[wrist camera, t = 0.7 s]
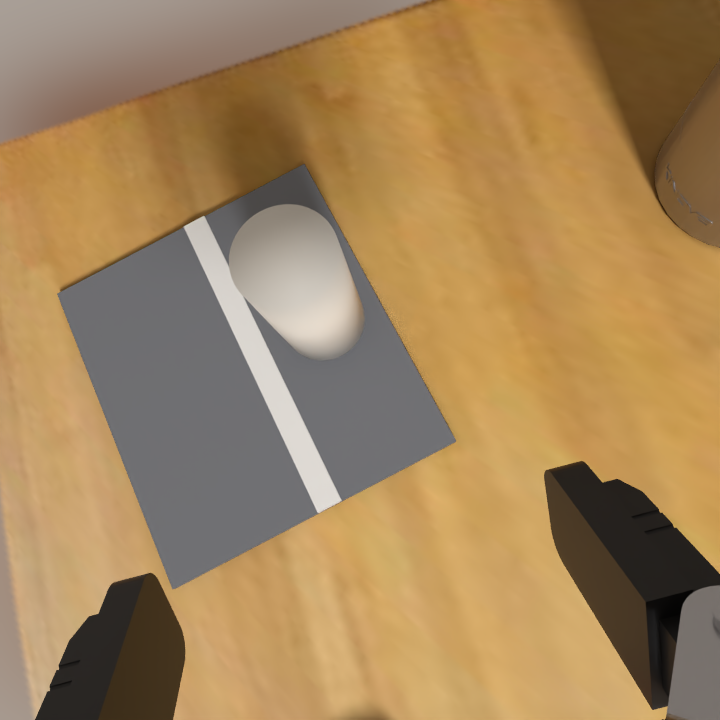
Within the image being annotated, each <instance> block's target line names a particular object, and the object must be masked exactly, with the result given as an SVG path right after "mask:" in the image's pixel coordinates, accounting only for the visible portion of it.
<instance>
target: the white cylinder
mask: <svg viewBox="0 0 720 720" xmlns="http://www.w3.org/2000/svg"><path fill="white" fill-rule="evenodd" d="M229 270H230V274H231V278H232V280H233V283H234V284H235V286H236V288H237V289H238V291H239V292H240V293H241V294H242V295H243V296H244V298H245V299H246V300H247V301H248V302H249V303H250V304H251V305H252V306H253V307H254V308H255V309H256V310H257V311H258V312H259V313H260V314H261V315H262V316H263V317H264V318H265V319H266V320H267V321H268V323H269V324H270V325H271V326H272V327H273V328H274V329H275V330H276V331H277V332H278V333H279V334H280V335H281V336H282V337H283V338H284V339H285V340H286V341H287V342H288V343H289V344H290V345H291V346H292V348H293V349H295V350H296V351H297V352H298V353H299V354H301V355H303V356H305V357H307V358H310V359H313V360H331V359H335V358H338V357H340V356H342V355H344V354H345V353H347V352H348V351H349V350H351V349H352V348H353V347H354V346H355V344H356V343H357V342H358V340H359V338H360V337H361V334H362V332H363V329H364V323H365V314H364V309H363V306H362V303H361V300H360V297H359V295H358V292H357V289H356V287H355V284H354V281H353V279H352V276H351V273H350V271H349V268H348V265H347V262H346V260H345V257H344V254H343V252H342V249H341V246H340V244H339V241H338V238H337V236H336V233H335V231H334V229H333V228H332V226H331V225H330V223H329V222H328V221H327V220H326V219H325V218H324V217H323V216H322V215H320V214H319V213H317V212H316V211H314V210H312V209H310V208H307V207H304V206H300V205H294V204H283V205H277V206H272V207H269V208H266V209H264V210H262V211H260V212H258V213H257V214H255V215H254V216H252V217H251V218H250V219H248V220H247V221H246V222H245V223H244V224H243V226H242V227H241V228H240V229H239V231H238V232H237V234H236V236H235V238H234V240H233V242H232V245H231V248H230V254H229Z"/></svg>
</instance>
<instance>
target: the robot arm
mask: <svg viewBox="0 0 720 720" xmlns="http://www.w3.org/2000/svg"><path fill="white" fill-rule="evenodd" d="M655 187H656V190H657V193H658V197H659V200H660V202H661V204H662V206H663V207H664V209H665V211H666V213H667V214H668V215H669V216H670V218H671V219H672V220H673V221H674V222H675V223H676V224H677V225H678V227H680V228H681V229H683V230H684V231H685V232H687V233H688V234H689V235H691V236H692V237H694V238H696V239H698V240H700V241H702V242H704V243H706V244H708V245H712V246H715V247H719V248H720V60H719V61H718V63H717V64H716V66H715V67H714V69H713V70H712V72H711V73H710V75H709V76H708V78H707V79H706V81H705V82H704V84H703V85H702V87H701V88H700V90H699V91H698V93H697V94H696V96H695V97H694V99H693V100H692V101H691V103H690V104H689V106H688V107H687V109H686V110H685V112H684V113H683V115H682V116H681V118H680V119H679V121H678V122H677V124H676V125H675V127H674V128H673V130H672V131H671V133H670V134H669V136H668V138H667V139H666V141H665V142H664V144H663V146H662V148H661V150H660V152H659V154H658V156H657V161H656V166H655ZM544 479H545V487H546V494H547V502H548V509H549V516H550V523H551V530H552V535H553V539H554V543H555V546H556V549H557V551H558V554H559V556H560V558H561V560H562V562H563V564H564V566H565V567H566V569H567V570H568V572H569V574H570V575H571V577H572V579H573V580H574V582H575V584H576V585H577V587H578V589H579V590H580V592H581V593H582V595H583V597H584V598H585V600H586V602H587V603H588V605H589V607H590V608H591V610H592V611H593V613H594V615H595V616H596V618H597V620H598V621H599V623H600V625H601V626H602V628H603V630H604V631H605V633H606V634H607V636H608V638H609V639H610V641H611V643H612V644H613V646H614V648H615V649H616V651H617V652H618V654H619V656H620V657H621V659H622V661H623V662H624V664H625V666H626V667H627V669H628V671H629V672H630V674H631V675H632V677H633V679H634V680H635V682H636V684H637V685H638V687H639V689H640V690H641V692H642V693H643V695H644V697H645V698H646V700H647V702H648V703H649V705H650V707H651V708H652V710H654V709H658V708H662V707H666V706H668V709H667V715H666V719H665V720H720V574H719V573H718V572H717V571H716V569H715V568H714V567H713V566H712V565H711V564H710V563H709V562H708V561H707V560H706V559H705V558H704V557H703V556H702V555H701V554H700V553H699V551H698V550H697V549H696V548H695V547H694V546H693V545H692V544H691V543H690V542H689V541H688V540H687V539H686V538H685V537H684V536H683V534H682V533H681V532H680V531H679V530H678V529H677V528H674V527H673V524H672V523H671V522H670V521H669V520H668V519H667V517H666V516H665V515H664V514H663V513H660V512H659V509H658V508H657V507H656V506H655V505H654V504H653V503H652V502H651V500H650V499H649V498H648V497H647V496H646V495H645V494H644V493H643V492H642V491H640V490H638V489H636V488H634V487H632V486H630V485H628V484H626V483H624V482H622V481H621V480H619V479H615V480H611V481H607V482H604V483H602V482H601V481H600V479H599V478H598V477H597V476H596V475H595V473H594V472H593V471H592V470H591V469H590V468H589V466H588V465H587V464H586V463H585V462H583V461H580V462H576V463H572V464H568V465H564V466H560V467H557V468H553V469H549V470H546V471H545V474H544ZM184 662H185V642H184V636H183V632H182V629H181V627H180V625H179V622H178V620H177V618H176V616H175V614H174V612H173V610H172V608H171V606H170V604H169V601H168V599H167V597H166V595H165V593H164V591H163V589H162V587H161V585H160V583H159V581H158V579H157V577H156V576H155V575H154V574H152V573H148V574H144V575H141V576H137V577H133V578H129V579H125V580H121V581H118V582H114V583H112V584H111V586H110V587H109V589H108V591H107V594H106V596H105V599H104V602H103V604H102V607H101V609H100V612H99V614H96V615H92V616H89V617H88V618H87V620H86V621H85V622H84V623H83V624H82V626H81V627H80V628H79V629H78V631H77V632H76V633H75V634H74V636H73V637H72V638H71V639H70V640H69V643H68V645H67V647H66V650H65V652H64V654H63V657H62V659H61V661H60V663H59V670H57V671H56V673H55V675H54V677H53V680H52V682H51V684H50V691H48V692H47V694H46V696H45V698H44V701H43V703H42V705H41V707H40V710H39V712H38V714H37V717H36V719H35V720H173V717H174V712H175V707H176V702H177V697H178V692H179V687H180V682H181V677H182V672H183V667H184ZM662 720H663V719H662Z"/></svg>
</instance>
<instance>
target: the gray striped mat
mask: <svg viewBox="0 0 720 720" xmlns="http://www.w3.org/2000/svg"><path fill="white" fill-rule="evenodd" d="M283 204H294V205H300V206H304V207H307V208H310V209H312V210H314V211H316V212H317V213H319V214H320V215H322V216H323V217H324V218H325V219H326V220H327V221H328V222H329V223H330V225H331V226H332V228H333V229H334V231H335V233H336V236H337V238H338V241H339V244H340V246H341V249H342V252H343V254H344V257H345V260H346V262H347V265H348V268H349V271H350V273H351V276H352V279H353V281H354V284H355V287H356V289H357V292H358V295H359V297H360V300H361V303H362V306H363V309H364V314H365V323H364V329H363V332H362V334H361V337H360V338H359V340H358V342H357V343H356V344H355V346H354V347H353V348H352V349H351V350H349V351H348V352H347V353H345V354H344V355H342V356H340V357H338V358H335V359H331V360H313V359H310V358H307V357H305V356H303V355H301V354H299V353H298V352H297V351H296V350H295V349H293V348H292V346H291V345H290V344H289V343H288V342H287V341H286V340H285V339H284V338H283V337H282V336H281V335H280V334H279V333H278V332H277V331H276V330H275V329H274V328H273V327H272V326H271V325H270V324H269V323H268V321H267V320H266V319H265V318H264V317H263V316H262V315H261V314H260V313H259V312H258V311H257V310H256V309H255V308H254V307H253V306H252V305H251V304H250V303H249V302H248V301H247V300H246V299H245V298H244V296H243V295H242V294H241V293H240V292H239V291H238V289H237V288H236V286H235V284H234V283H233V280H232V278H231V274H230V270H229V254H230V248H231V245H232V242H233V240H234V238H235V236H236V234H237V232H238V231H239V229H240V228H241V227H242V226H243V224H244V223H245V222H246V221H247V220H248V219H250V218H251V217H252V216H254V215H255V214H257V213H258V212H260V211H262V210H264V209H266V208H269V207H272V206H277V205H283ZM57 295H58V297H59V300H60V302H61V305H62V307H63V310H64V313H65V315H66V318H67V320H68V323H69V325H70V328H71V330H72V333H73V336H74V338H75V341H76V343H77V346H78V348H79V351H80V354H81V356H82V359H83V361H84V364H85V366H86V369H87V371H88V374H89V377H90V379H91V382H92V384H93V387H94V389H95V392H96V394H97V397H98V400H99V402H100V405H101V407H102V410H103V412H104V415H105V417H106V420H107V423H108V425H109V428H110V430H111V433H112V435H113V438H114V440H115V443H116V446H117V448H118V451H119V453H120V456H121V458H122V461H123V464H124V466H125V469H126V471H127V474H128V476H129V479H130V481H131V484H132V487H133V489H134V492H135V494H136V497H137V499H138V502H139V504H140V507H141V510H142V512H143V515H144V517H145V520H146V522H147V525H148V527H149V530H150V533H151V535H152V538H153V540H154V543H155V545H156V548H157V550H158V553H159V556H160V558H161V561H162V563H163V566H164V568H165V571H166V574H167V576H168V579H169V581H170V584H171V586H172V589H175V588H177V587H179V586H181V585H183V584H185V583H187V582H189V581H191V580H193V579H195V578H197V577H198V576H200V575H202V574H204V573H206V572H208V571H210V570H212V569H214V568H216V567H218V566H219V565H221V564H223V563H225V562H227V561H229V560H231V559H233V558H235V557H237V556H239V555H240V554H242V553H244V552H246V551H248V550H250V549H252V548H254V547H256V546H258V545H260V544H261V543H263V542H265V541H267V540H269V539H271V538H273V537H275V536H277V535H279V534H281V533H282V532H284V531H286V530H288V529H290V528H292V527H294V526H296V525H298V524H300V523H302V522H303V521H305V520H307V519H309V518H311V517H313V516H315V515H317V514H319V513H321V512H323V511H324V510H326V509H328V508H330V507H332V506H334V505H336V504H338V503H340V502H342V501H344V500H346V499H347V498H349V497H351V496H353V495H355V494H357V493H359V492H361V491H363V490H365V489H367V488H368V487H370V486H372V485H374V484H376V483H378V482H380V481H382V480H384V479H386V478H388V477H389V476H391V475H393V474H395V473H397V472H399V471H401V470H403V469H405V468H407V467H409V466H410V465H412V464H414V463H416V462H418V461H420V460H422V459H424V458H426V457H428V456H430V455H431V454H433V453H435V452H437V451H439V450H441V449H443V448H445V447H447V446H449V445H451V444H452V443H454V442H456V440H455V438H454V436H453V434H452V433H451V431H450V429H449V427H448V425H447V423H446V422H445V420H444V418H443V416H442V414H441V412H440V411H439V409H438V407H437V405H436V403H435V402H434V400H433V398H432V396H431V394H430V392H429V391H428V389H427V387H426V385H425V383H424V381H423V380H422V378H421V376H420V374H419V372H418V371H417V369H416V367H415V365H414V363H413V361H412V360H411V358H410V356H409V354H408V352H407V350H406V349H405V347H404V345H403V343H402V341H401V340H400V338H399V336H398V334H397V332H396V330H395V329H394V327H393V325H392V323H391V321H390V319H389V318H388V316H387V314H386V312H385V310H384V308H383V307H382V305H381V303H380V301H379V299H378V298H377V296H376V294H375V292H374V290H373V288H372V287H371V285H370V283H369V281H368V279H367V277H366V276H365V274H364V272H363V270H362V268H361V267H360V265H359V263H358V261H357V259H356V257H355V256H354V254H353V252H352V250H351V248H350V246H349V245H348V243H347V241H346V239H345V237H344V235H343V234H342V232H341V230H340V228H339V226H338V225H337V223H336V221H335V219H334V217H333V215H332V214H331V212H330V210H329V208H328V206H327V204H326V203H325V201H324V199H323V197H322V195H321V194H320V192H319V190H318V188H317V186H316V184H315V183H314V181H313V179H312V177H311V175H310V173H309V172H308V170H307V168H306V166H305V164H303V165H301V166H299V167H298V168H296V169H294V170H292V171H290V172H288V173H286V174H284V175H282V176H280V177H278V178H277V179H275V180H273V181H271V182H269V183H267V184H265V185H263V186H261V187H259V188H258V189H256V190H254V191H252V192H250V193H248V194H246V195H244V196H242V197H240V198H239V199H237V200H235V201H233V202H231V203H229V204H227V205H225V206H223V207H221V208H219V209H218V210H216V211H214V212H212V213H210V214H208V215H206V216H202V217H200V218H199V219H197V220H195V221H193V222H191V223H189V224H187V225H185V226H183V228H181V229H180V230H178V231H176V232H174V233H172V234H170V235H168V236H166V237H164V238H162V239H161V240H159V241H157V242H155V243H153V244H151V245H149V246H147V247H145V248H143V249H141V250H140V251H138V252H136V253H134V254H132V255H130V256H128V257H126V258H124V259H122V260H121V261H119V262H117V263H115V264H113V265H111V266H109V267H107V268H105V269H103V270H102V271H100V272H98V273H96V274H94V275H92V276H90V277H88V278H86V279H84V280H82V281H81V282H79V283H77V284H75V285H73V286H71V287H69V288H67V289H65V290H63V291H62V292H60V293H58V294H57Z"/></svg>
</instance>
